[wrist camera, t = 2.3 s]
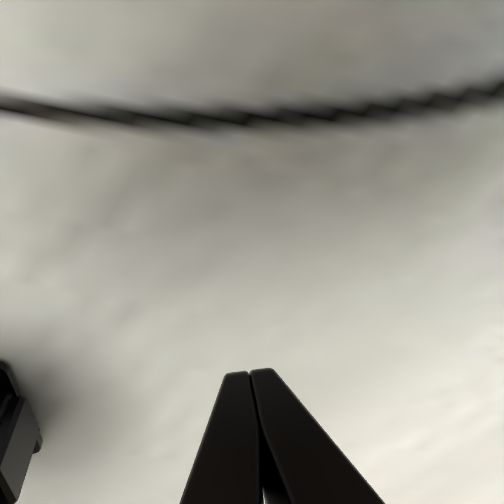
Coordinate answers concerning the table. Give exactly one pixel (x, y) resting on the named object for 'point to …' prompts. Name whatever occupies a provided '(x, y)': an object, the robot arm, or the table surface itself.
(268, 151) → the table surface
